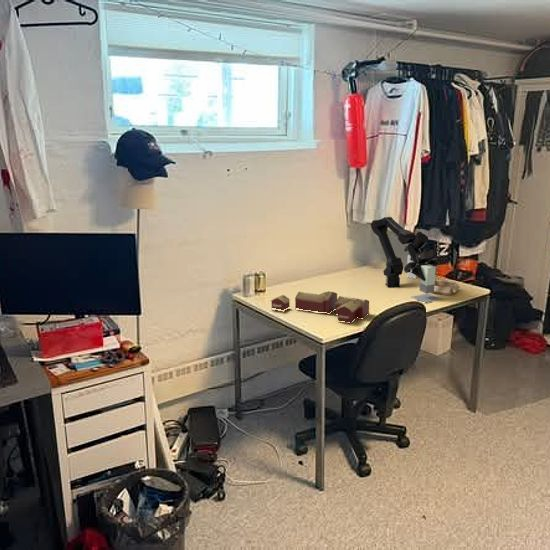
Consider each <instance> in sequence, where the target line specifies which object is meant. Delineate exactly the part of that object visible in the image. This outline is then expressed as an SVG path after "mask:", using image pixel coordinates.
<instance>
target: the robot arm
mask: <svg viewBox="0 0 550 550" xmlns="http://www.w3.org/2000/svg"><path fill="white" fill-rule="evenodd" d="M370 228H371V229H372V232H373V233H374V234H375V235H376V236H378V240H379V242H380V245H381V247H382V251H383V252H384V255H385V258H386V262H385V268H384V269H383V275H384V276H386V277H385V281H386V282H385V283H384V285H385V286H386V287H387V288H399V287H401V286H400V284H401V282H400V281H401V277H400V275H402V274H403V271H404V273H406V274H407V273H408V272H410V271H411V269H412V272H411V273H413V274H415V275H416V276H418V277H419V278H418V279H420V278H421V279H422V280H423V281H425V280H426V279H425V277H424V275H423V273H422V271H421V266H422V265H432V266H435V267H436V268H437V266H438V265H439V264H440V263H441V262H440V260H439V259H438V258H437V257H435V258H433V257H434V256H435V252H434V250H433V249H429V250H427V251H425V252H424V251H422V250H421V249H423V247H424V246H425V245H426V244H427V243H428V242H429V237H428V235H426V234H425V233H422V231H417V233H416V234H415V233H414V232H413V231H410V230H408V229H405V228H404V227H402V226H401V225H400V224H399V223H398V222H396V221H395V219H394V218H393V217H392V216H385V217H382V218H380V219H373V220H372V222H371V223H370ZM388 229H389V230H390V231H391V232H392V233H393V234H395V235H396V236H397V240H398V241H399V243H401V245H405V247H404V250H403V251H404V252H407V253H408V255H410V256H411V258H410V260H411V261H412V260H413V262H410V263H408V264H407V263H406V265H405V266H404V263H403V260H402V258H401V257H398V256H396V254H395V251H394V248H393V245H392V244H391V243H392V242H391V241H390V238H389V234H388ZM429 259H430V260H429Z"/></svg>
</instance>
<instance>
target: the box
mask: <svg viewBox="0 0 550 550" xmlns="http://www.w3.org/2000/svg"><path fill="white" fill-rule="evenodd" d="M436 268H437V266H436V267H435V266H432V265H422V266H421V271H422V273H423V275H424V277H425V279H426V280H425V281H423V280H422V279H421V278H419V292H421V293H423V294H424V293H425V294H432V293H431V292H434V286H435V280H436V272H437V271H436Z"/></svg>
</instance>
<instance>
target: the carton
mask: <svg viewBox="0 0 550 550" xmlns="http://www.w3.org/2000/svg"><path fill="white" fill-rule="evenodd" d="M459 289H460V285H459V284H458V282H456V281H448V280H440V279H439V280H438V279H435V286H434V292H431V293H430V294H437V295H443V296H452V295H453V294H455V293H456V292H458V290H459Z"/></svg>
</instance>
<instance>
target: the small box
mask: <svg viewBox="0 0 550 550" xmlns="http://www.w3.org/2000/svg"><path fill="white" fill-rule="evenodd" d="M410 258H411V256H410V254H408V255H407V258H406V259H407V260H406V261H407V263H406V265H407V264H408V263H410V262H413V260H412V261H411V260H410ZM411 272H412V269H411V271H410V272H408V273H406V278H408V277H409V278H410V279H413V278H414V280H415V279H420V278H419V277H418V276H416V275H415V274H413V273H411Z"/></svg>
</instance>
